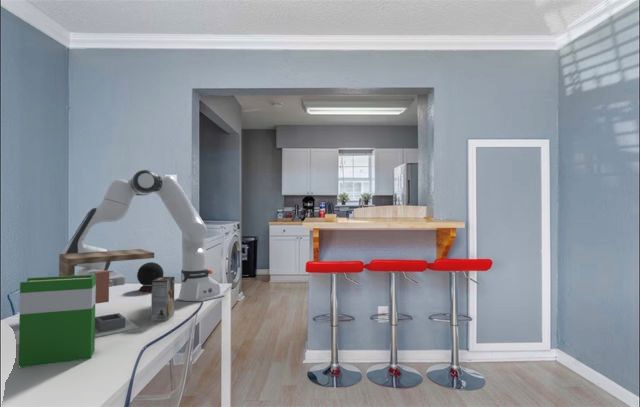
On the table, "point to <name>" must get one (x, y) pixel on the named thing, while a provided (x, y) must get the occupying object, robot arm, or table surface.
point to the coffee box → (162, 299)
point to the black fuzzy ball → (149, 275)
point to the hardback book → (56, 319)
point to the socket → (112, 325)
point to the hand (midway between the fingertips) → (101, 285)
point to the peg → (102, 286)
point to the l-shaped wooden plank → (98, 258)
